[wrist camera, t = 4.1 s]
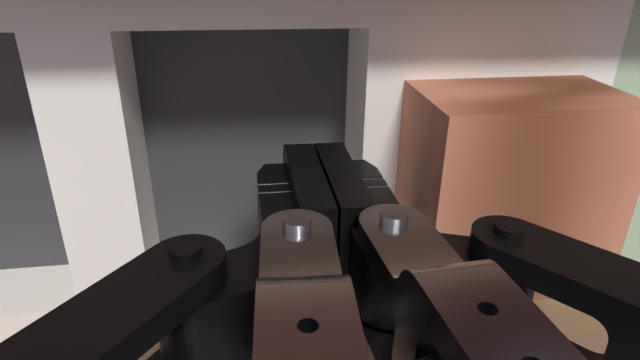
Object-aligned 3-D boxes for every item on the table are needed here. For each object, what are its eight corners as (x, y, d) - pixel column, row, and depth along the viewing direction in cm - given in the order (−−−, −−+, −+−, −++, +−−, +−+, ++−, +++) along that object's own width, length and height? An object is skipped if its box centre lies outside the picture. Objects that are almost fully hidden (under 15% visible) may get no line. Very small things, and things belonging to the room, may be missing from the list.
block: (582, 74, 14) (666, 108, 11) (545, 233, 16) (608, 292, 13) (404, 80, 13) (449, 116, 10) (390, 245, 15) (424, 311, 13)
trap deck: (901, -63, 16) (1152, -61, 12) (758, 253, 22) (896, 336, 17) (-332, -84, 11) (-691, -97, 7) (-134, 334, 17) (-268, 481, 12)
